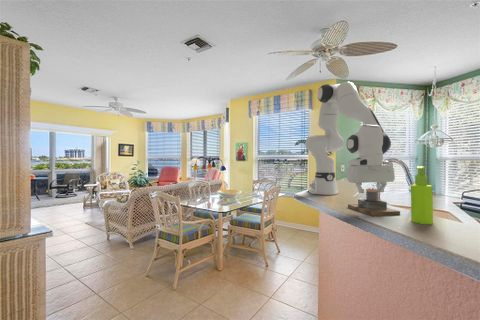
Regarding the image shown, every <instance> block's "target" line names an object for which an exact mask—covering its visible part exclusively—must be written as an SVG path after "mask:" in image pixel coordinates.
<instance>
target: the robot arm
mask: <svg viewBox="0 0 480 320" xmlns="http://www.w3.org/2000/svg"><path fill="white" fill-rule="evenodd" d="M317 100H318V101H319V102H321V104H320V109H319V113H318V114H319V115H318V123H317V125H318V127H319V128H320V129H322V130H323V131H324V135H323V134H321V135H320V134H319V135H318V134H317V135H309V136H308V137H307V138H306V139H305V142H304V143H305V148H306V149H307V150H308V151H309V152H310V153H311V155H312V156H313V158H314V159H315V169H316V172H315V174H314V175H315V176H314V179H313V180H312V181H311V182H310V183H309V187H310V188H308V189H307V190H308V191H309V193H310V194H313V195H323V196H324V195H325V196H326V195H327V196H329V195H330V196H331V195H332V196H334V195H337V194H340V192H339V190H338V183H337V180H336V179H335V178H336V172H335V161H334V159H332V157H330V156H328V155H327V152H339V151H341V150H343V148H344V147H345V145H346V148H347V151H349V153H351V154H353V155H355V154H356V155H358V156H359V157H356V158H353V159H349V161H348V168H347V175H346V177H347V182H349V183H352V184H355V186H356V188H357V191H358V193H359V194H364V193H365V189H364V188H363V187H362V185H363V184H364V183H379V184H380V186H379V187H378V188H377V193H385V188H386V186H387V185H388V183H393V182H394V181H395V179H396V178H395V177H396V175H395V169H394V164H393V162H391V160H384V154H385V153H387V152H388V151H389V150H390V148H391V145H392V142H391V139H390V137H389V135H388V134H387V133H386V132H385V131H384V129H383V128H382V126H381V124H380V122H379V120H378V118H377V116H376V115H375V113H374V111H373V110H372V108H370V107H369V106H367V105H366V104H365V103H364V102H363V100H362V98H361V95H360V94H359V91H358V87H357V85H355V84H354V83H353V82H350V81H344V82H342V83H331V84H329V83H327V84H322V85H321V86H320V87H319V88H318V90H317ZM339 113H340V114H341V115H342V116H343V117H345V118H348V119H353V120H356V121H359V122H361V123H363V124H362V125H360V127H359V129H358V131H357V132H355V133H354V134H351V135H350V136H349V137H348V138H347V139H346V144H345V140H344V138H343V137H342V135H340V133H339V131H338V125H337V124H338V116H339ZM362 183H363V184H362ZM308 191H307V192H308Z"/></svg>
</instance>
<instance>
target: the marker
mask: <svg viewBox="0 0 480 320" xmlns="http://www.w3.org/2000/svg"><path fill="white" fill-rule="evenodd" d="M365 192H366V193H365V196H366V197H365V199H366V201H368V202H377V200H378V188H366V189H365Z"/></svg>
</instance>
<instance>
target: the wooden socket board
mask: <svg viewBox="0 0 480 320" xmlns="http://www.w3.org/2000/svg"><path fill="white" fill-rule="evenodd" d="M387 203H388V202H387V201H384V200H380V199H377V202H368V201H366V198H361V199H359V198H358V199H357V203H350V204H349V203H348V204H347V208H348V209H351V210H354V211H356V212H360V213H363V214H365V215H368V216H371V217H384V216H401V211H400V210H397V209H395V208H391V207H388V206H387V205H388V204H387Z"/></svg>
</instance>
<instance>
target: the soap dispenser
mask: <svg viewBox="0 0 480 320" xmlns="http://www.w3.org/2000/svg"><path fill="white" fill-rule="evenodd" d="M425 168H426V167H425V165H417V166H416V170H417V174H416V175H414V183H413V184H411V185H410V209H411V210H410V217H411V219H410V220H411V222H412V223H416V224H421V225H433V224H434V220H433V219H434V212H433V211H434V207H433V206H434V201H433V199H434V198H433V194H434V193H433V185H431V184H428V180H429V179H428V175H426V174H425Z"/></svg>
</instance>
